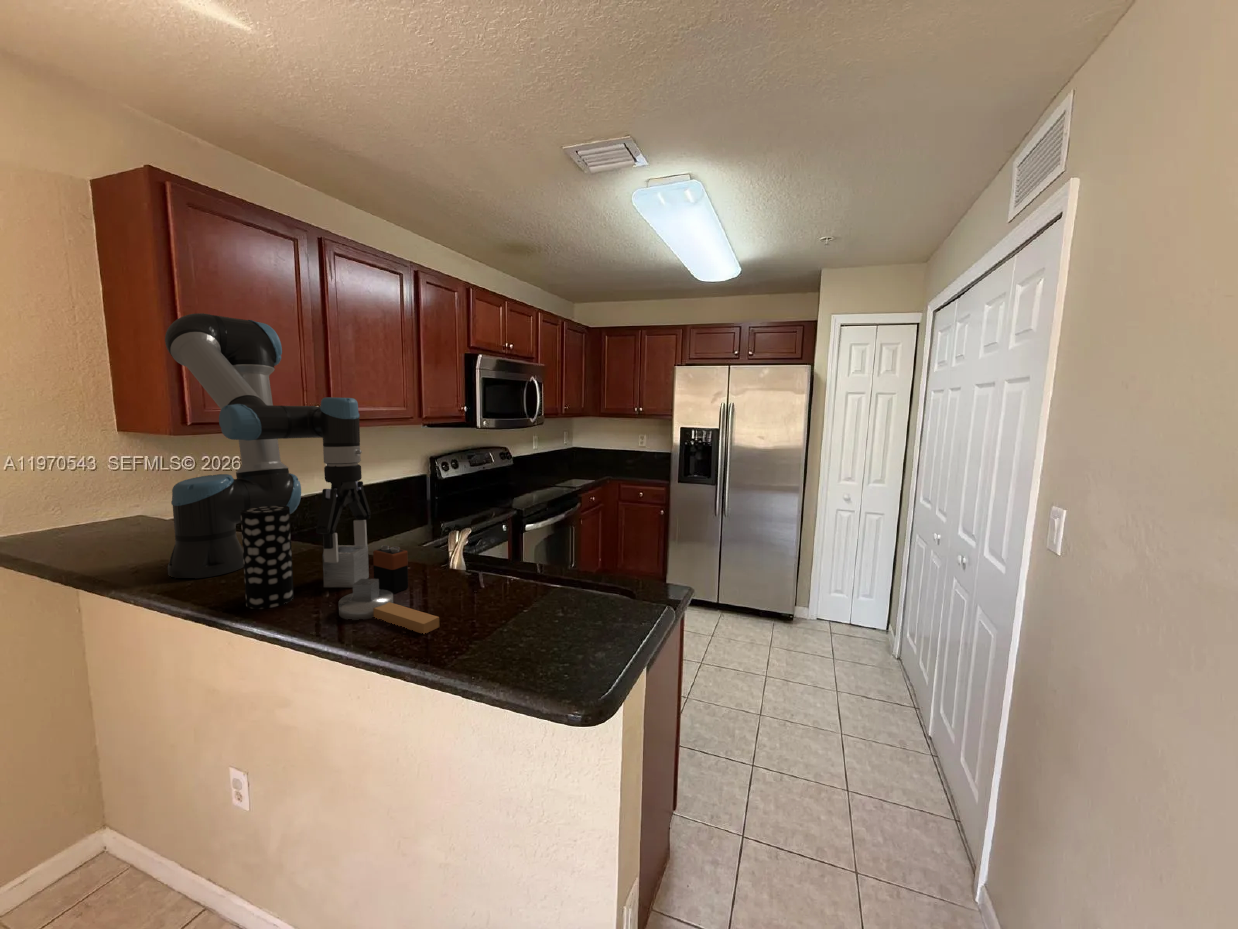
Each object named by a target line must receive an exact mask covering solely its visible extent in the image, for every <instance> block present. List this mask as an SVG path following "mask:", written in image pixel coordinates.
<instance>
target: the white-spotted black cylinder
mask: <svg viewBox="0 0 1238 929" xmlns="http://www.w3.org/2000/svg"><path fill="white" fill-rule="evenodd" d="M240 512H241V523H240V526H241V543H242V545H241V546H242V549H243V562H244V567H243V574H244V575H243V577H244V579H243V580H244V593H245V595H244V596H245V606H246V607H247V608H249V609H252V610H253V609H254V610H263V609H271V608H277V607H279V606H282V605H286V604H288V603H290V602H292V601H293V600H294V599H295V597H294V596H295V594H294V576H293V575H294V574H293V556H292V555H293V554H292V552H293V551H292V533H291V532H292V531H291V514H290V509H289V507H288V506H281V505H271V506H259V507H252V508H247V509H243V510H241V511H240ZM292 599H293V600H292ZM285 603H286V604H285Z"/></svg>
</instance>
